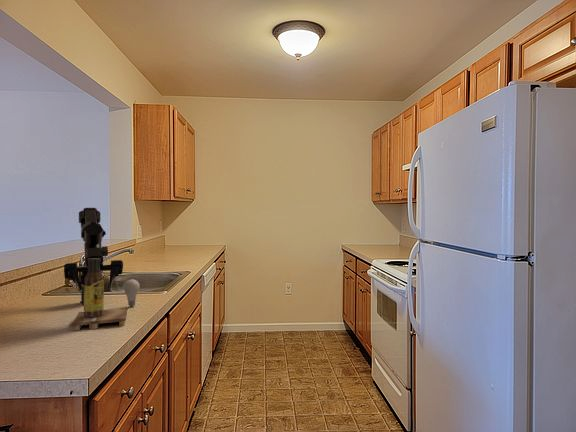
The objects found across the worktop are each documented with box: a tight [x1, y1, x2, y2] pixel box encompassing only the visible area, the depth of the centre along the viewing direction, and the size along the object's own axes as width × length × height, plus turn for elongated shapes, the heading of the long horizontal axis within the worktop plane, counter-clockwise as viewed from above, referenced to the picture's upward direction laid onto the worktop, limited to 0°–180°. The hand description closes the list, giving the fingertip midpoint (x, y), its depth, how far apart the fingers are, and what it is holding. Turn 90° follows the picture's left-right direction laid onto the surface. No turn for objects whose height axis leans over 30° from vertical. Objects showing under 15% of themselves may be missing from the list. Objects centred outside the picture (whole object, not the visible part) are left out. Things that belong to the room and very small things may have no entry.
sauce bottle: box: [83, 258, 105, 317], centre depth 136 cm, size 6×6×20 cm
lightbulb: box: [122, 278, 141, 308], centre depth 159 cm, size 6×6×11 cm
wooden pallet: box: [71, 307, 128, 331], centre depth 137 cm, size 16×14×2 cm
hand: (95, 288), depth 136 cm, fingers open, 9 cm apart
